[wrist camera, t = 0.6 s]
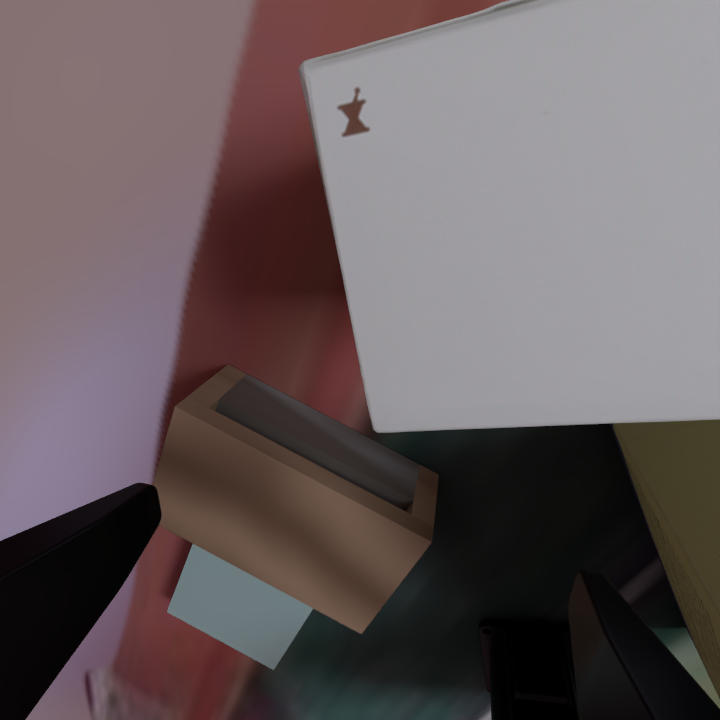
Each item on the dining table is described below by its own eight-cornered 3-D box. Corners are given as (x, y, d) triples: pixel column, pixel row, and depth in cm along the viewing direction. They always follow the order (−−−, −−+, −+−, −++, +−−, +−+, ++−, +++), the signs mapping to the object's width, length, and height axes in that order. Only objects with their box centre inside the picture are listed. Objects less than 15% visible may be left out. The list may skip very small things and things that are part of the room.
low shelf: (378, 560, 28) (361, 634, 24) (194, 462, 28) (143, 516, 24) (439, 474, 25) (432, 542, 20) (228, 364, 25) (174, 406, 20)
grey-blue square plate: (285, 641, 34) (273, 670, 32) (184, 587, 35) (166, 611, 33) (332, 565, 30) (323, 593, 28) (216, 503, 30) (199, 526, 28)
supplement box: (419, 296, 21) (358, 441, 10) (398, 123, 18) (281, 44, 7) (589, 277, 19) (766, 433, 8) (593, 81, 16) (869, -125, 5)
